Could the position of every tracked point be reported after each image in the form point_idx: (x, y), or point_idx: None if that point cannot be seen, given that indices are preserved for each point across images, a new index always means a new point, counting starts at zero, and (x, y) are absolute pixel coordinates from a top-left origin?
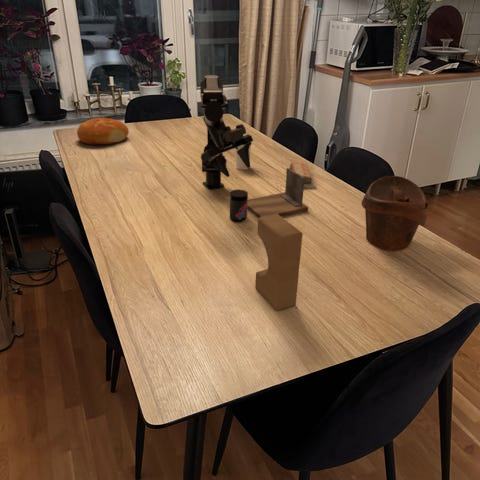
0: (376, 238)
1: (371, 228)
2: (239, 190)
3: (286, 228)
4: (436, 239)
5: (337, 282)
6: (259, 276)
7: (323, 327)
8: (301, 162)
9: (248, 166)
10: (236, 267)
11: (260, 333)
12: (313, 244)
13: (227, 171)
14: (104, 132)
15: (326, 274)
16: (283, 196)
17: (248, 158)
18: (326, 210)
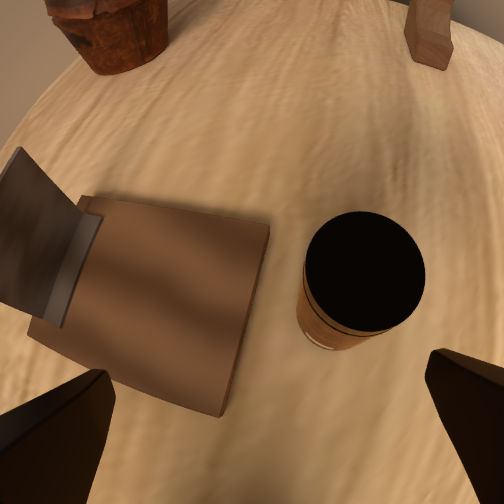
0: (165, 28)
1: (160, 19)
2: (337, 302)
3: None
4: None
5: (314, 23)
6: (451, 41)
7: (391, 13)
8: None
9: (105, 387)
10: (460, 116)
11: (460, 43)
12: (250, 79)
13: (472, 363)
14: None
15: (314, 33)
16: (61, 306)
17: (27, 411)
18: (60, 180)
